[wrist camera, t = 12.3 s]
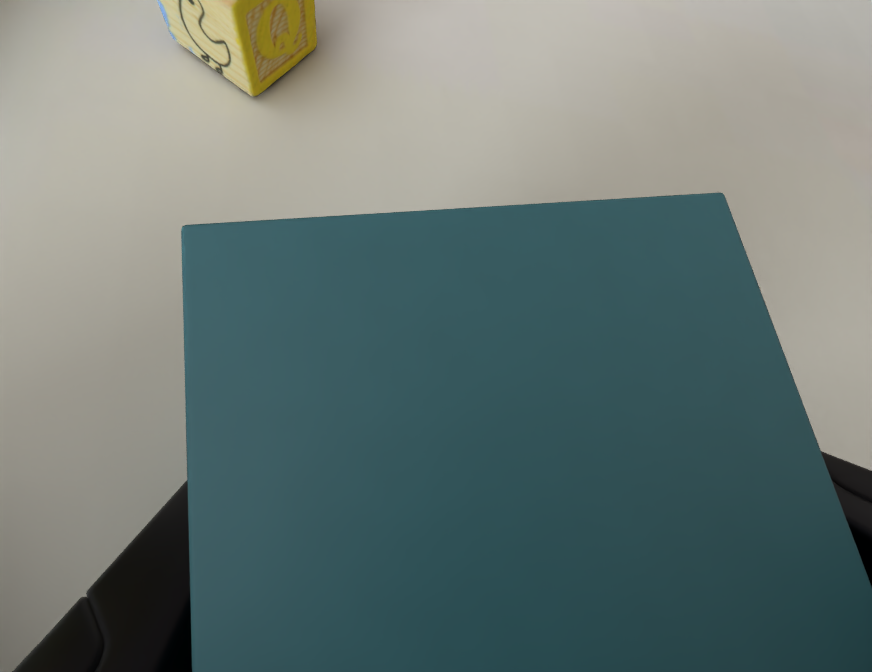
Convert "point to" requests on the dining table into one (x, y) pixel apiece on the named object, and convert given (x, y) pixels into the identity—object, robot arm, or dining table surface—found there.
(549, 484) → the teal block
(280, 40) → the alphabet block
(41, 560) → the dining table surface
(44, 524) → the dining table surface
